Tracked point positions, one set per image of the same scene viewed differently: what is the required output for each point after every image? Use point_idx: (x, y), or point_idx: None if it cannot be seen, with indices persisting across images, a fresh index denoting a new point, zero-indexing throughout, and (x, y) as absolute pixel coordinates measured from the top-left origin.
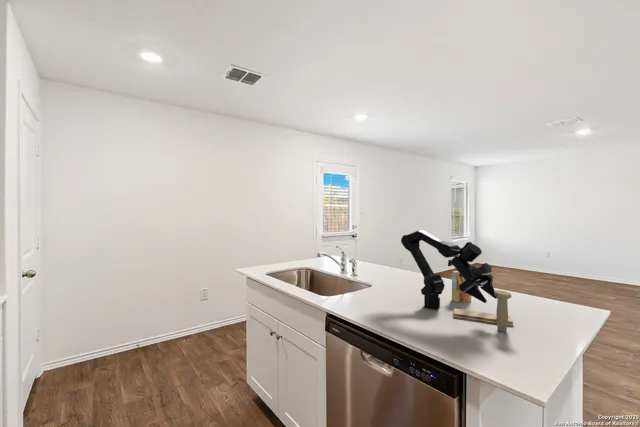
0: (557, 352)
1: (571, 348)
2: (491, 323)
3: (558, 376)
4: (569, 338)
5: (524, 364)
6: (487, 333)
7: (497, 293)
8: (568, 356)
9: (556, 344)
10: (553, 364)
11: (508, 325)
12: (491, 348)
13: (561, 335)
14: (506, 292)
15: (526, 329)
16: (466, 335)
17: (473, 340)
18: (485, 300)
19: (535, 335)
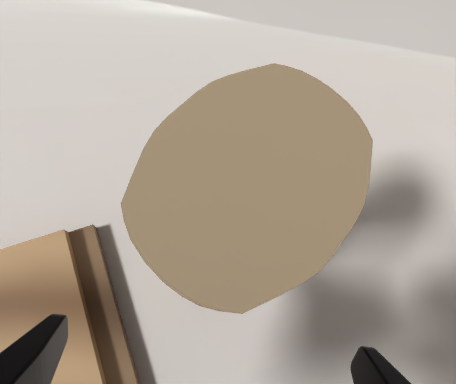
0: (273, 59)
1: (195, 26)
2: (128, 345)
3: (436, 55)
4: (81, 28)
5: (453, 125)
6: (304, 305)
7: (356, 218)
8: (278, 35)
9: (194, 62)
10: (377, 66)
11: (100, 250)
12: (443, 235)
13: (62, 49)
14: (203, 126)
15: (85, 169)
16: (422, 380)
17: (442, 324)
18: (385, 363)
19: (147, 128)
